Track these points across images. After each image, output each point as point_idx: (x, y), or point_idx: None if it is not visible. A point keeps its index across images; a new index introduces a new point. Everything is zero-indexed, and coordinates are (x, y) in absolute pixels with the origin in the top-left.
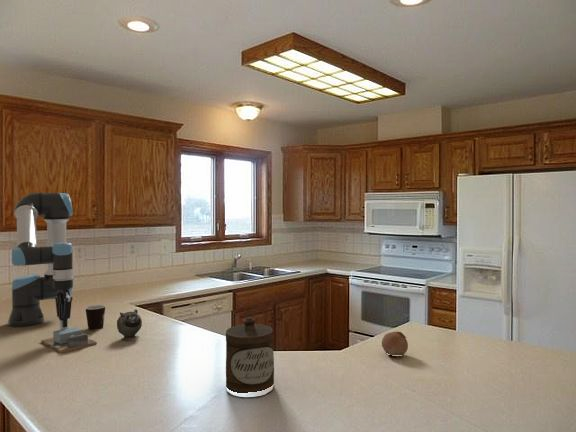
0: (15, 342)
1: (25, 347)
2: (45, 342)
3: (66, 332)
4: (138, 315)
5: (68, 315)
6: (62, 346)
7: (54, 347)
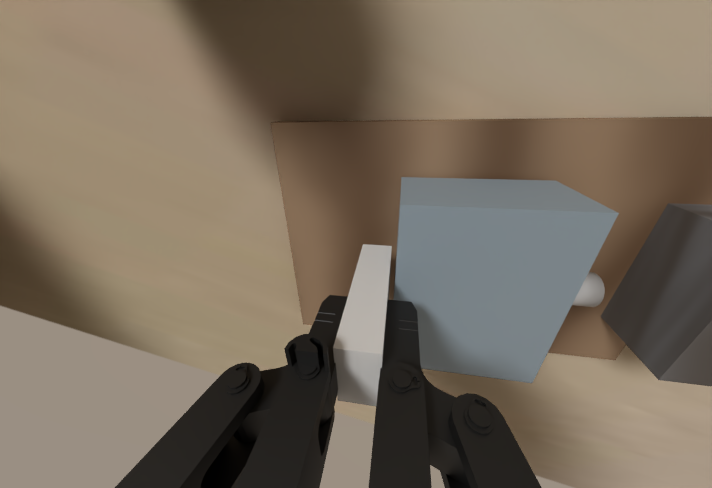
0: (233, 357)
1: None
2: None
3: (525, 338)
4: None
5: (520, 483)
6: None
7: None
